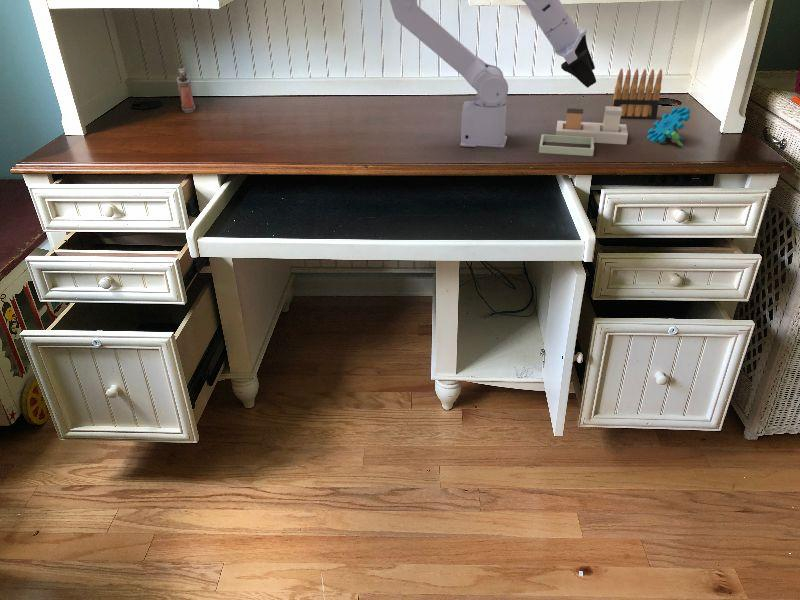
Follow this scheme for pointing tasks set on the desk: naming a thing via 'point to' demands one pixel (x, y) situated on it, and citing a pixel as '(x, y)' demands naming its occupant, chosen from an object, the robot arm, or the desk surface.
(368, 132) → the desk surface
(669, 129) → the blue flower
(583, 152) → the parts tray
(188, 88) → the pink perfume bottle
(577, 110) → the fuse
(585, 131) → the block
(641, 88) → the ammunition clip
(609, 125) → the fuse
